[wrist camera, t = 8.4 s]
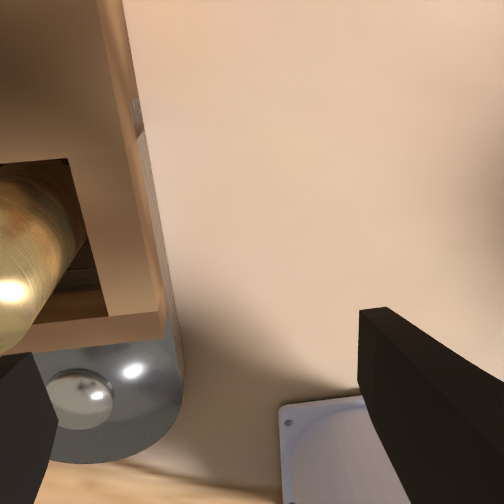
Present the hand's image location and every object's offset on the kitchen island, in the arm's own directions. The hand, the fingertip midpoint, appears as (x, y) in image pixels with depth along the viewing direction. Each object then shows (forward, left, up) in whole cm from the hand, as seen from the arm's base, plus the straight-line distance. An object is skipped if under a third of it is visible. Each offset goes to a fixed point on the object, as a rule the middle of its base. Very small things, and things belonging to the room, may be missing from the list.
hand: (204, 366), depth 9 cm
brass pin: (+1, +6, -9) cm, 11 cm away
